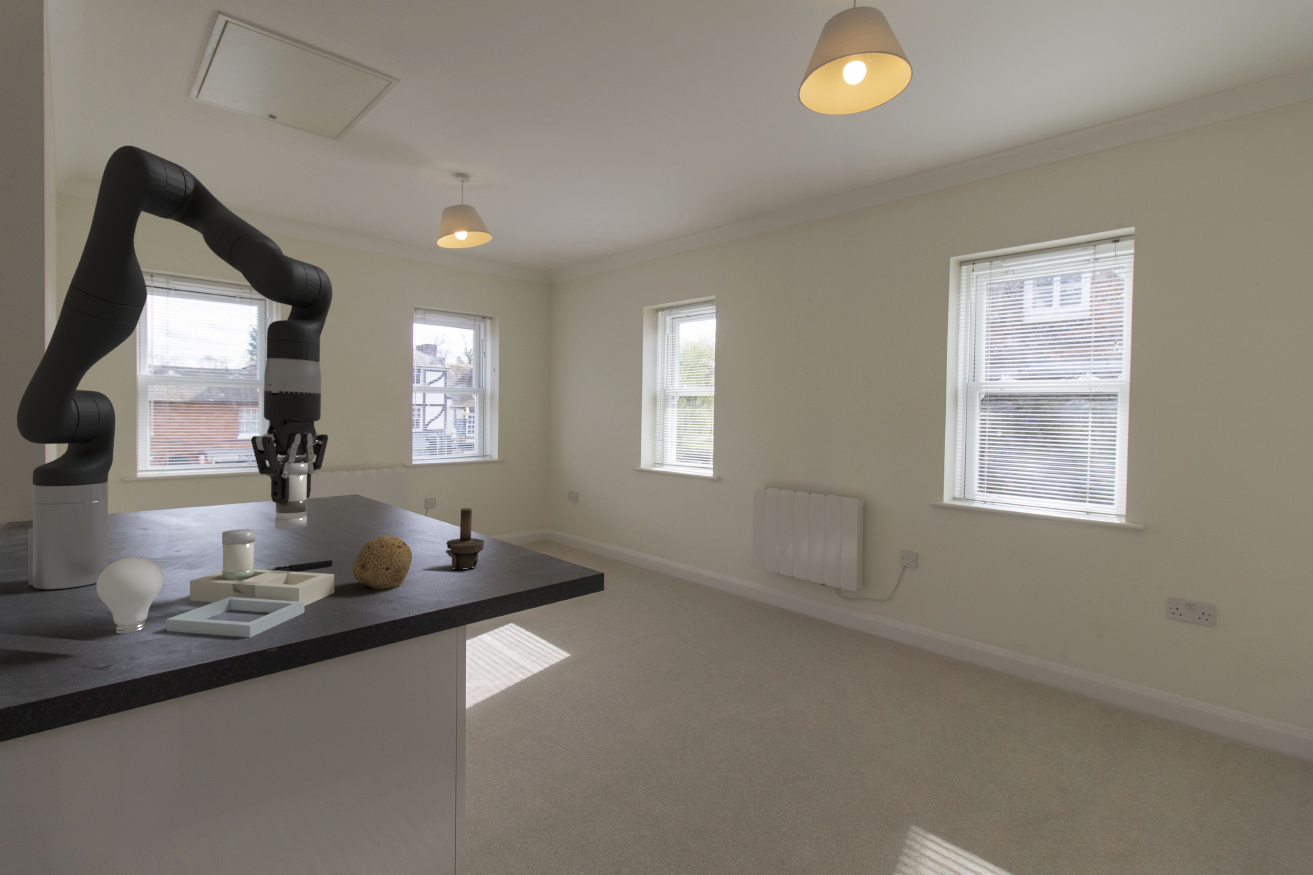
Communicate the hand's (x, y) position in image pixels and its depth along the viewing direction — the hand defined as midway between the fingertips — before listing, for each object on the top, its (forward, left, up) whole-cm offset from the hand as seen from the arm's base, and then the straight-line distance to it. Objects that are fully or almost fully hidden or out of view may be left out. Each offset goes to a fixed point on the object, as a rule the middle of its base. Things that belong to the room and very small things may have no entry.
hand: (291, 499), depth 92 cm
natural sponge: (+10, +9, -17) cm, 22 cm away
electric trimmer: (-12, +13, -18) cm, 25 cm away
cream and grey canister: (0, 0, -4) cm, 4 cm away
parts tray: (+1, -11, -17) cm, 20 cm away
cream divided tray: (-4, 0, -17) cm, 18 cm away
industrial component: (+16, +30, -17) cm, 38 cm away
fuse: (-9, 0, -15) cm, 18 cm away
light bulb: (-10, -16, -17) cm, 26 cm away
